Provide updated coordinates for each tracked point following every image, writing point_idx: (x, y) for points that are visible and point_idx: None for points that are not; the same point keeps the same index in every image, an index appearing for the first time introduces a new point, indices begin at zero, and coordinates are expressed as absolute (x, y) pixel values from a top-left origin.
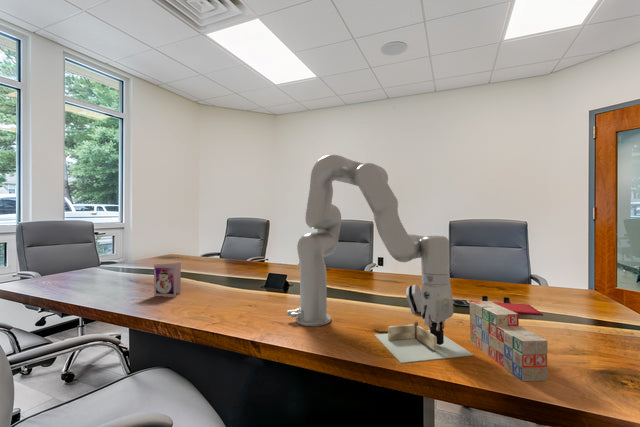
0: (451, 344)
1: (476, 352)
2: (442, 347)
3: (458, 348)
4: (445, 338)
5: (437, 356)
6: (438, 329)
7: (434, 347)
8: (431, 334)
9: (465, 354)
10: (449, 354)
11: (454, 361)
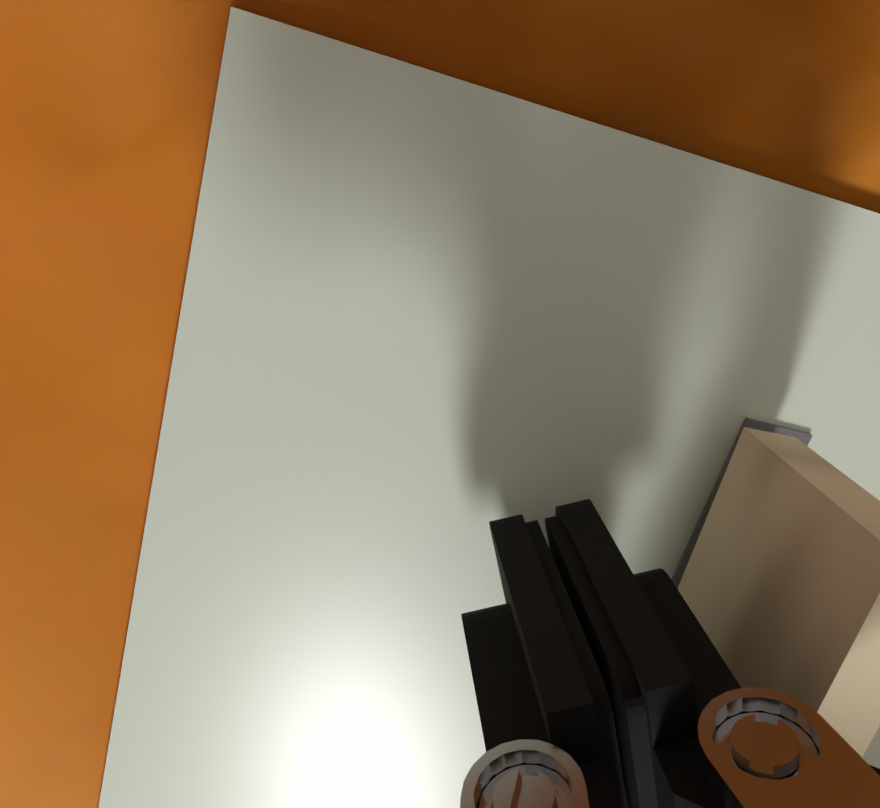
0: (268, 500)
1: (54, 71)
2: (509, 482)
3: (285, 338)
4: (174, 690)
5: (873, 288)
6: (756, 736)
7: (805, 456)
8: (865, 682)
9: (378, 95)
10: (646, 242)
11: (776, 27)
